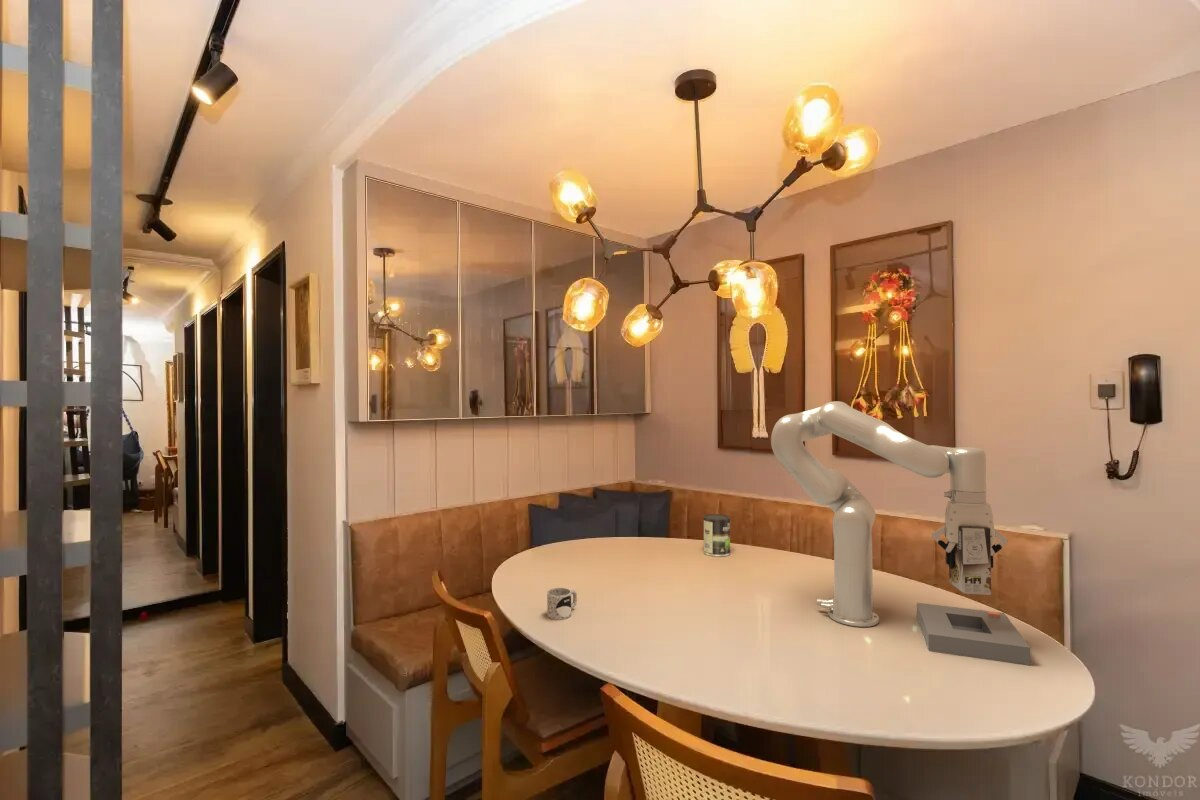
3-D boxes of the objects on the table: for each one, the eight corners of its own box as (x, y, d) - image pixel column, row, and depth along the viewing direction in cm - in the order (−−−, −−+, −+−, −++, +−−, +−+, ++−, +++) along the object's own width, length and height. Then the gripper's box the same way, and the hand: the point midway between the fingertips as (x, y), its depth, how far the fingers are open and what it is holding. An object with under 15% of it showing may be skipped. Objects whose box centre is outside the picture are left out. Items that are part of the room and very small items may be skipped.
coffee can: (734, 551, 223) (734, 515, 222) (724, 558, 214) (724, 520, 214) (709, 548, 228) (709, 512, 228) (699, 554, 220) (698, 517, 219)
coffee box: (992, 595, 137) (991, 528, 137) (962, 594, 138) (961, 527, 138) (975, 583, 146) (975, 520, 146) (948, 582, 147) (947, 519, 147)
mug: (558, 622, 155) (558, 597, 155) (542, 616, 159) (542, 592, 159) (584, 611, 162) (584, 588, 162) (568, 606, 167) (568, 583, 167)
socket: (928, 650, 136) (928, 630, 136) (916, 617, 156) (916, 599, 156) (1030, 665, 128) (1030, 644, 128) (1004, 628, 149) (1003, 609, 149)
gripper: (930, 498, 142) (931, 569, 142) (1014, 501, 135) (1015, 576, 135) (925, 493, 149) (927, 561, 149) (1005, 496, 142) (1006, 568, 142)
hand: (969, 568), depth 142 cm, fingers closed on coffee box, 7 cm apart
